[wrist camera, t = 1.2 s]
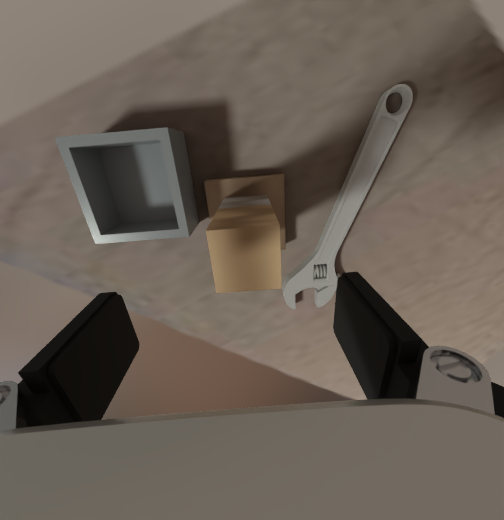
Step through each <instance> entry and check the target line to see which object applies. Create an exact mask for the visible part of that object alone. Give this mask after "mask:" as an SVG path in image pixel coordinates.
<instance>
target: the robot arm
mask: <svg viewBox="0 0 504 520" xmlns="http://www.w3.org/2000/svg"><path fill="white" fill-rule="evenodd" d="M333 328H334V333H335V335H336V337H337V339H338V341H339V343H340V345H341V347H342V349H343V351H344V353H345V355H346V357H347V359H348V361H349V363H350V365H351V367H352V369H353V371H354V373H355V375H356V377H357V379H358V381H359V383H360V385H361V387H362V389H363V391H364V393H365V395H366V397H367V399H368V400H351V401H334V402H319V403H306V404H293V405H279V406H266V407H253V408H240V409H227V410H215V411H204V412H203V411H202V412H190V413H178V414H167V415H154V416H143V417H131V418H119V419H107V420H101V419H102V417H103V415H104V413H105V411H106V410H107V408H108V406H109V404H110V402H111V400H112V398H113V397H114V395H115V393H116V391H117V389H118V387H119V385H120V383H121V382H122V380H123V377H124V376H125V374H126V372H127V370H128V369H129V367H130V365H131V363H132V361H133V359H134V357H135V355H136V354H137V352H138V350H139V341H138V338H137V336H136V333H135V330H134V328H133V325H132V322H131V319H130V317H129V314H128V311H127V309H126V306H125V303H124V300H123V298H122V296H121V295H118V294H117V293H116V292H108V293H100V294H98V295H97V296H96V297H95V298H94V299H93V300H92V301H91V302H90V303H89V304H88V305H87V306H86V307H85V308H84V309H83V310H82V311H81V312H80V313H79V314H78V315H77V316H76V317H75V318H74V319H73V320H72V321H71V322H70V323H69V324H68V325H67V326H66V327H65V328H64V329H63V330H61V332H59V333H58V334H57V335H56V336H55V337H54V338H53V339H52V340H51V341H50V342H49V343H48V344H47V345H46V346H45V347H44V348H43V349H42V350H41V351H40V352H39V353H38V354H37V355H36V356H35V357H34V358H33V359H32V360H31V361H30V362H29V363H28V364H27V365H26V366H24V367H23V368H22V370H21V371H19V372H18V373H19V375H20V376H21V377H22V379H23V380H22V381H21V382H20V383H19V384H17V383H16V382H13V381H4V382H0V520H504V387H502V386H500V385H498V384H495V383H493V382H491V379H490V376H489V373H488V371H487V370H486V369H485V367H484V366H483V365H482V364H481V363H480V362H478V361H477V360H476V359H475V358H473V357H471V356H470V355H468V354H466V353H464V352H462V351H459V350H457V349H454V348H450V347H446V346H432V347H428V346H427V344H426V343H425V342H424V341H423V340H422V339H421V338H420V337H419V336H418V335H417V334H416V333H415V332H414V331H413V329H412V328H411V327H410V326H409V325H408V324H407V323H406V322H405V321H404V320H403V319H402V318H401V317H400V316H399V315H398V314H397V313H396V312H395V311H394V310H393V308H392V307H391V306H390V305H389V304H388V303H387V302H386V301H385V300H384V299H383V298H382V297H381V296H380V295H379V294H378V293H377V292H376V291H375V290H374V289H373V288H372V286H371V285H370V284H369V283H368V282H367V281H366V280H365V279H364V278H363V277H362V276H361V275H360V274H359V273H358V272H348V273H343V274H342V276H340V277H338V280H337V291H336V302H335V314H334V325H333Z"/></svg>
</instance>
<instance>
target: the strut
mask: <svg viewBox="0 0 504 520" xmlns="http://www.w3.org/2000/svg"><path fill="white" fill-rule="evenodd" d="M206 233H207V239H208V245H209V251H210V257H211V263H212V269H213V275H214V281H215V287H216V293H225V292H239V291H253V290H267V289H281V288H282V287H281V251H280V224H279V222H278V220H277V217H276V215H275V212H274V210H273V208H272V205H271V203H270V201H269V198H268V196H267V195H256V196H243V197H231V198H224V199H223V201H222V203H221V205H220V206H219V208H218V210H217V212H216V214H215V216H214V217H213V219H212V221H211V223H210V225H209V226H208V228H207V230H206Z"/></svg>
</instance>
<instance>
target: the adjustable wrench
mask: <svg viewBox="0 0 504 520" xmlns="http://www.w3.org/2000/svg"><path fill="white" fill-rule="evenodd" d="M394 92H398V93H400V95H401V96H402V105H401V107H400V109H399V110H398V111H397V112H395V113H388V111H387V109H386V100H387V97H388V96H389V95H390V94H392V93H394ZM412 101H413V93H412V90H411V89H410V87H409V86H407V85H406V84H398V85H395V86H393V87H391V88H389V89H388V90H386V91H385V92H384V93H383V94H382V96H381V97H380V99H379V101H378V104H377V106H376V109H375V111H374V113H373V116H372V118H371V120H370V123H369V125H368V127H367V130H366V132H365V134H364V137H363V139H362V141H361V144H360V146H359V148H358V151H357V153H356V155H355V158H354V160H353V162H352V165H351V167H350V169H349V172H348V174H347V177H346V179H345V181H344V184H343V186H342V188H341V191H340V193H339V195H338V198H337V200H336V202H335V205H334V207H333V209H332V212H331V214H330V216H329V219H328V221H327V223H326V226H325V228H324V230H323V233H322V235H321V237H320V240H319V242H318V244H317V246H316V248H315V250H314V251H313V252H312V253H311V255H310V256H309V257H308V258H307V259H306V260H305V261H304V262H303V263H302V264H301V265H300V266H299V267H297V268H296V269H295V270H294V271H293V272H291V273H290V274H289V275H288V276H287V277H286V279H285V281H284V283H283V288H282V291H283V295H284V299H285V302H286V304H287V305H288V306H289V307H290V308H291V309H296V306H295V294H297V293H298V292H300V291H302V290H303V289H305V288H314V287H315V304H316V306H317V308H318V307H322V306H323V305H325V304H326V303H327V302H328V301H329V300H330V299H331V298H332V296H333V295H334V293H335V291H336V289H337V280H338V277H340V274H339V273H335V268H334V262H335V257H336V255H337V252H338V250H339V248H340V246H341V244H342V242H343V240H344V238H345V236H346V234H347V232H348V230H349V228H350V226H351V224H352V222H353V220H354V218H355V216H356V214H357V212H358V210H359V208H360V206H361V204H362V202H363V200H364V198H365V196H366V194H367V192H368V190H369V188H370V186H371V184H372V182H373V180H374V178H375V176H376V174H377V172H378V170H379V168H380V166H381V164H382V162H383V160H384V158H385V156H386V154H387V152H388V150H389V148H390V146H391V144H392V142H393V140H394V138H395V136H396V135H397V133H398V131H399V129H400V127H401V125H402V123H403V121H404V119H405V117H406V115H407V113H408V111H409V109H410V107H411V104H412ZM324 264H325V265H324Z"/></svg>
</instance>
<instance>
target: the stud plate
mask: <svg viewBox="0 0 504 520" xmlns="http://www.w3.org/2000/svg"><path fill="white" fill-rule="evenodd" d="M204 185H205V191H206V198H207V204H208V211H209V217H210V223H211V221H212V219H213V217H214V216H215V214H216V212H217V210H218V208H219V206H220V205H221V203H222V201H223V199H224V198H231V197H243V196H256V195H267V196H268V198H269V201H270V203H271V205H272V208H273V210H274V212H275V215H276V217H277V220H278V222H279V224H280V250H283V249H286V241H285V186H284V174H283V173H279V174H267V175H255V176H243V177H231V178H219V179H207V180H205V181H204Z"/></svg>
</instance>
